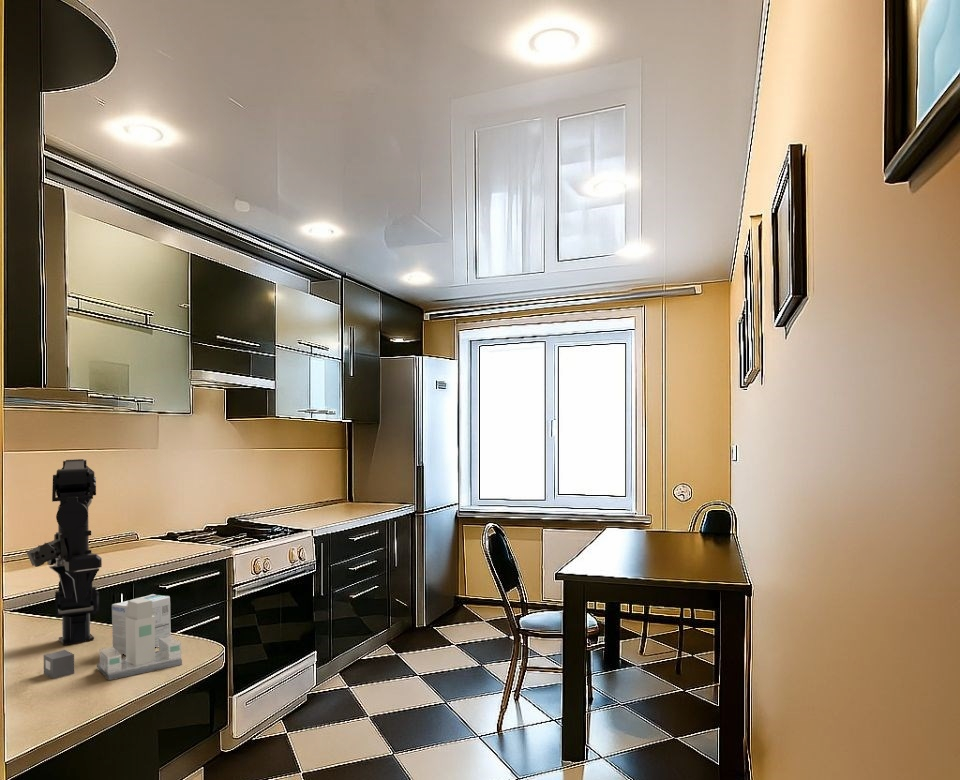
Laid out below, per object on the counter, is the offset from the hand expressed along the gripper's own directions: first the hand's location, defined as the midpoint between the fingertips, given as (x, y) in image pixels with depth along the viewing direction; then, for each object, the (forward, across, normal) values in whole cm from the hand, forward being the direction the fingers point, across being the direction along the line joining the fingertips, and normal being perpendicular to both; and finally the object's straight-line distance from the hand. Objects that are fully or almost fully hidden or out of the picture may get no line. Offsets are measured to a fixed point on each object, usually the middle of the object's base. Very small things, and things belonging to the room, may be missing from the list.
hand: (73, 600), depth 159 cm
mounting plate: (+13, +14, +9) cm, 21 cm away
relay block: (+13, +6, -4) cm, 15 cm away
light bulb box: (+13, 0, +14) cm, 19 cm away
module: (+12, +15, +9) cm, 21 cm away
